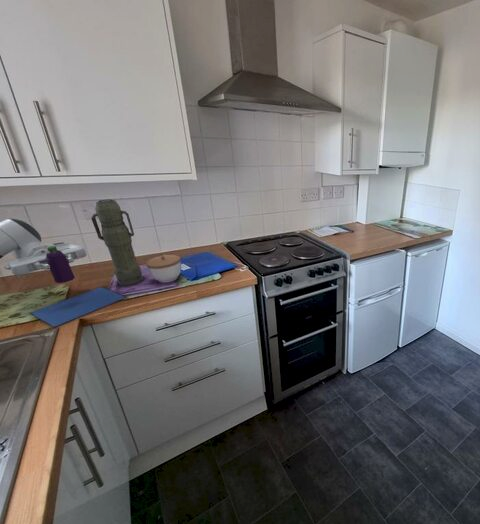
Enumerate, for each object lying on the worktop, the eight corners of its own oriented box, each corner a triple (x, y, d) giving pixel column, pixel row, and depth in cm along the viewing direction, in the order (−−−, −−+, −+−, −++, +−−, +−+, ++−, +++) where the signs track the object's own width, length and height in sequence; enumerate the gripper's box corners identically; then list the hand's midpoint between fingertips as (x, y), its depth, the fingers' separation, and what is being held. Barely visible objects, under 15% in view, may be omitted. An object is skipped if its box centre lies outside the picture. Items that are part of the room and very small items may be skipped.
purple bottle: (59, 284, 104) (45, 251, 99) (52, 281, 107) (38, 248, 102) (77, 278, 109) (64, 246, 104) (70, 275, 111) (57, 243, 106)
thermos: (114, 281, 129) (86, 200, 116) (146, 274, 136) (123, 197, 122) (114, 289, 123) (84, 204, 109) (147, 281, 129) (124, 200, 115)
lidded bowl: (176, 285, 126) (170, 261, 122) (145, 286, 125) (138, 262, 121) (189, 272, 138) (184, 250, 133) (160, 273, 137) (154, 250, 133)
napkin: (54, 327, 99) (53, 326, 98) (30, 313, 106) (30, 312, 106) (125, 297, 116) (125, 297, 116) (101, 287, 124) (100, 286, 124)
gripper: (-3, 258, 101) (14, 266, 95) (71, 240, 117) (90, 246, 112) (6, 275, 103) (23, 283, 97) (77, 255, 120) (95, 261, 114)
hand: (59, 263), depth 105 cm, fingers closed on purple bottle, 5 cm apart
